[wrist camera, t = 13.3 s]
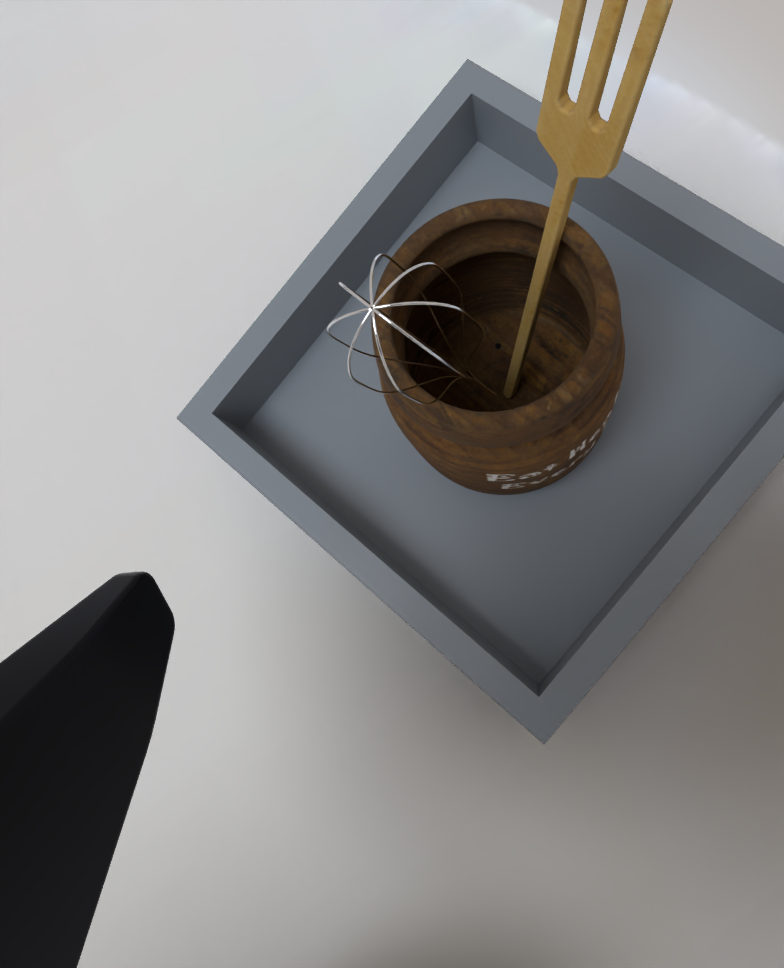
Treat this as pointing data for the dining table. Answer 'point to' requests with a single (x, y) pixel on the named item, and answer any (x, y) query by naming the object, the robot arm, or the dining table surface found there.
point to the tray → (572, 499)
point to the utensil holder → (515, 296)
